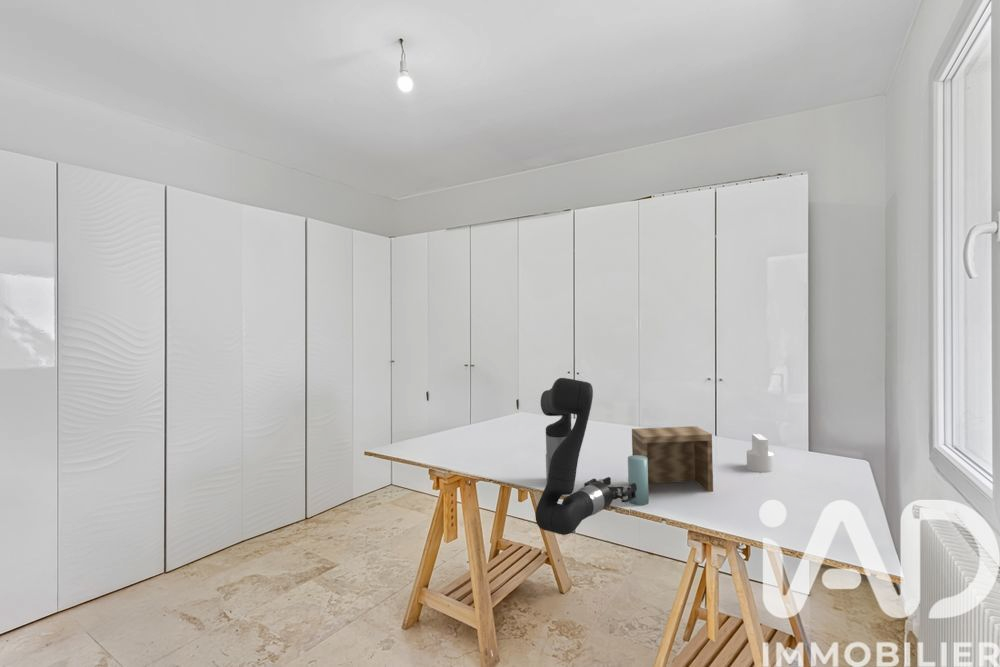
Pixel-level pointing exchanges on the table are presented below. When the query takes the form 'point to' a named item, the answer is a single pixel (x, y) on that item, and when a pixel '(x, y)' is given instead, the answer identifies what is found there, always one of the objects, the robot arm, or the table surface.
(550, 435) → the robot arm
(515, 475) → the table surface
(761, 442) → the base with upright slab
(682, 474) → the open wooden box
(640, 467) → the tumbler
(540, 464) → the table surface
